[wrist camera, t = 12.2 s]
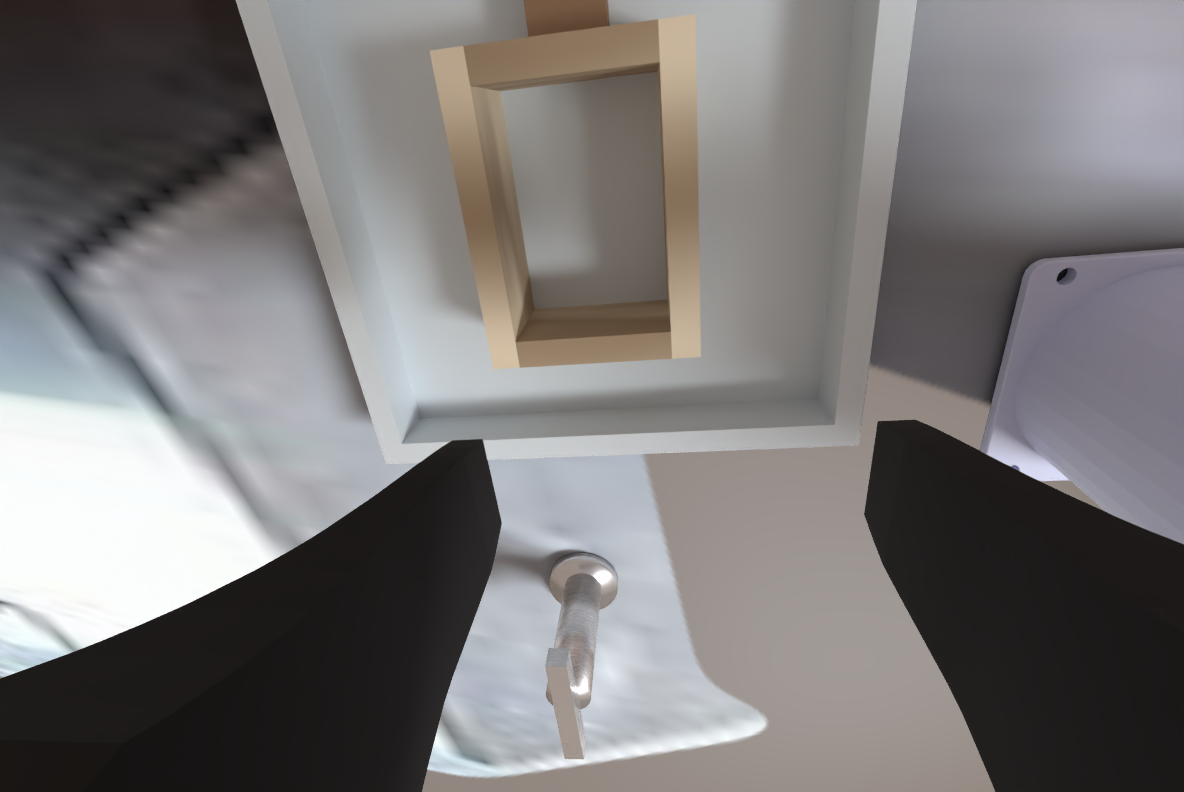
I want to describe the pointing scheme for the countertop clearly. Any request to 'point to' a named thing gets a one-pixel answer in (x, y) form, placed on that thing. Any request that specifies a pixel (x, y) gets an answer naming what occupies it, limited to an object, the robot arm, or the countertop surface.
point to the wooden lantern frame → (489, 200)
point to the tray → (601, 220)
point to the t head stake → (576, 641)
